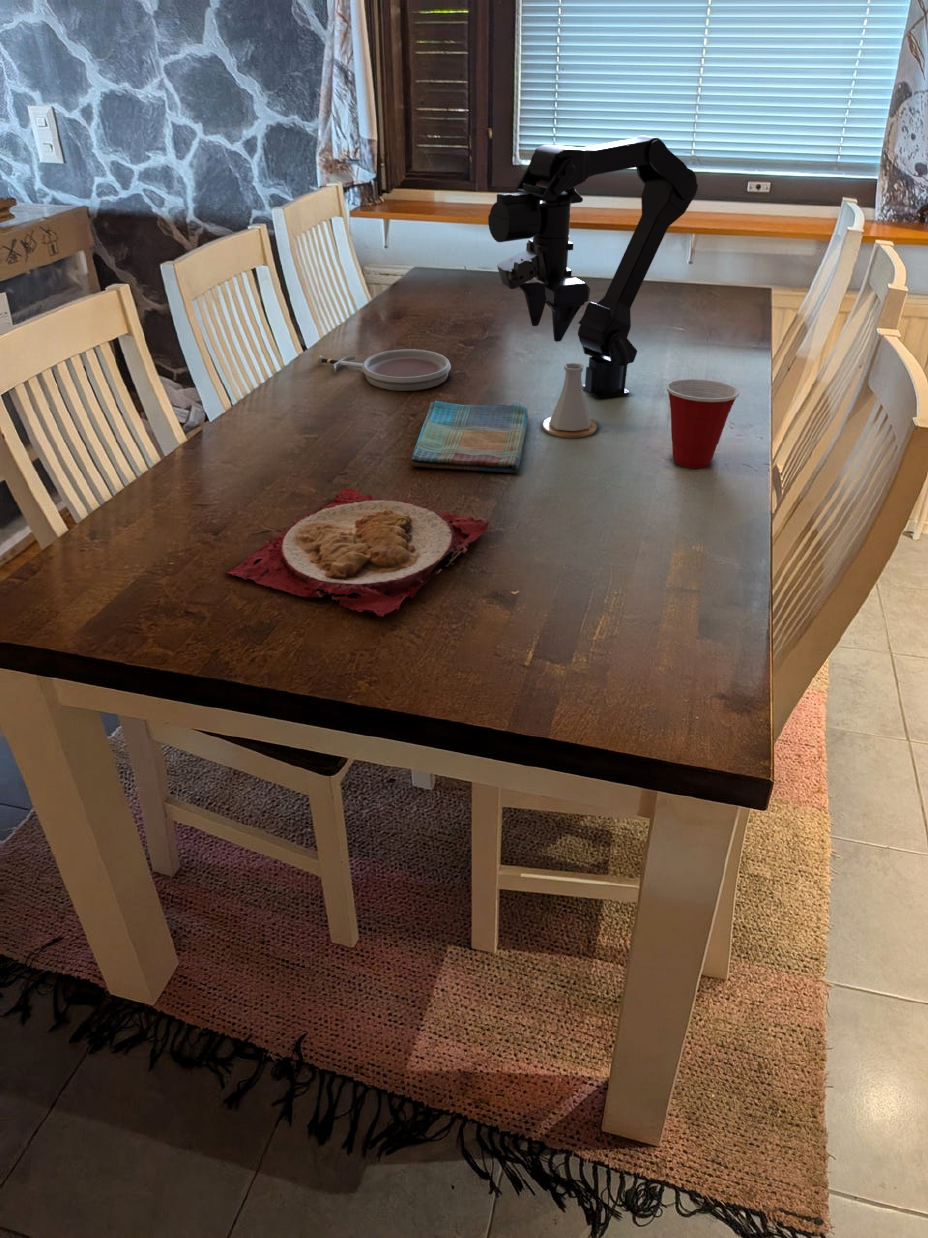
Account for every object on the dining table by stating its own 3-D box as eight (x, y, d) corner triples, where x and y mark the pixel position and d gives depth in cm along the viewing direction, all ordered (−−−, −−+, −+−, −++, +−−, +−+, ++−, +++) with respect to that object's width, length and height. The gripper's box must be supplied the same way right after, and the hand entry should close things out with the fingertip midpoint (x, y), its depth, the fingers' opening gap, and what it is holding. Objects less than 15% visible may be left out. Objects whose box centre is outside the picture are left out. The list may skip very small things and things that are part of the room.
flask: (545, 416, 156) (548, 359, 150) (587, 415, 156) (591, 357, 150) (552, 433, 150) (555, 373, 144) (595, 431, 150) (600, 372, 144)
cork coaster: (581, 414, 158) (582, 411, 157) (605, 433, 151) (606, 430, 150) (534, 421, 155) (534, 418, 155) (556, 441, 148) (556, 438, 148)
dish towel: (529, 416, 157) (529, 402, 155) (520, 474, 138) (520, 459, 136) (430, 412, 159) (430, 398, 157) (408, 469, 139) (407, 454, 138)
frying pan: (336, 339, 185) (464, 352, 176) (337, 353, 186) (464, 367, 178) (293, 365, 172) (429, 381, 163) (295, 380, 173) (430, 397, 165)
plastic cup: (730, 451, 145) (743, 378, 138) (723, 479, 136) (737, 402, 130) (662, 442, 148) (671, 370, 141) (651, 469, 139) (660, 393, 132)
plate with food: (490, 534, 123) (491, 511, 121) (385, 624, 104) (383, 599, 102) (347, 497, 133) (345, 475, 131) (226, 573, 114) (222, 549, 112)
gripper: (482, 226, 149) (481, 322, 158) (527, 251, 135) (523, 355, 144) (544, 222, 153) (540, 316, 161) (595, 245, 138) (587, 347, 147)
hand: (546, 333), depth 153 cm, fingers open, 9 cm apart
